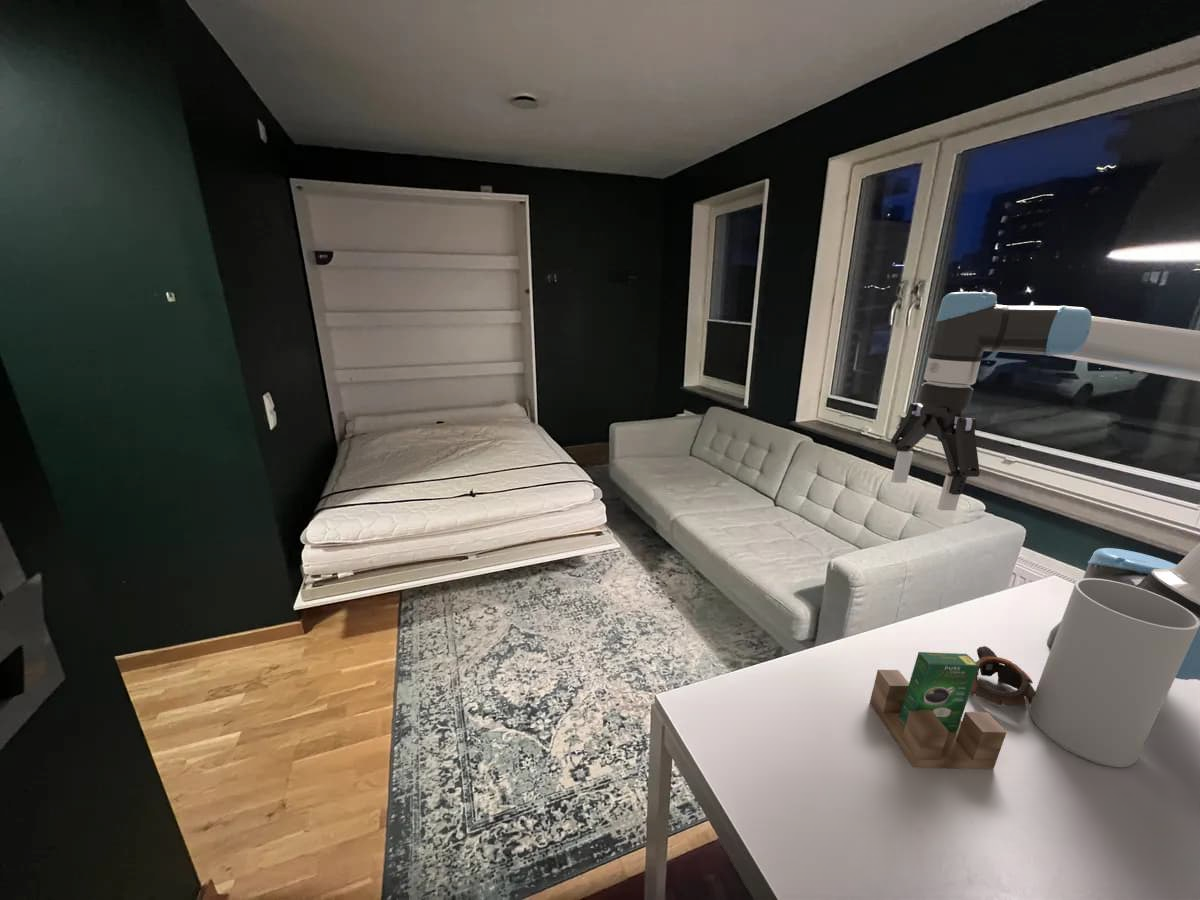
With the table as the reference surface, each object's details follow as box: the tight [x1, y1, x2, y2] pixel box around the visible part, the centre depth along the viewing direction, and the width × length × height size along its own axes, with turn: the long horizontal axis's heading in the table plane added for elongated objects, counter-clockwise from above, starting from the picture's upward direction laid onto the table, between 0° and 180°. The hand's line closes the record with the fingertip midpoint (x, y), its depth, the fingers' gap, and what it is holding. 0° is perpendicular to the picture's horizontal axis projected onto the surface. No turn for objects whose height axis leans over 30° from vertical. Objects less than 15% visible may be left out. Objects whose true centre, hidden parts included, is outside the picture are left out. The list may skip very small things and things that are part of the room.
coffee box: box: [899, 651, 979, 732], centre depth 74 cm, size 8×3×13 cm, turn 90°
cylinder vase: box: [1029, 578, 1200, 768], centre depth 73 cm, size 12×12×25 cm
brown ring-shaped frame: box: [970, 645, 1036, 709], centre depth 85 cm, size 12×10×8 cm
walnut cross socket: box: [869, 669, 1007, 770], centre depth 75 cm, size 12×12×7 cm
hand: (920, 495), depth 90 cm, fingers open, 13 cm apart
